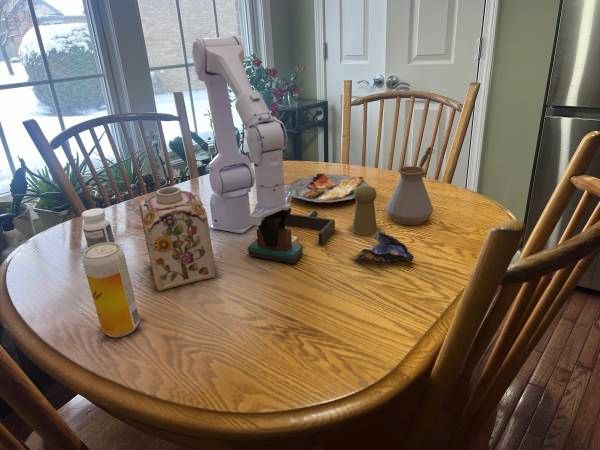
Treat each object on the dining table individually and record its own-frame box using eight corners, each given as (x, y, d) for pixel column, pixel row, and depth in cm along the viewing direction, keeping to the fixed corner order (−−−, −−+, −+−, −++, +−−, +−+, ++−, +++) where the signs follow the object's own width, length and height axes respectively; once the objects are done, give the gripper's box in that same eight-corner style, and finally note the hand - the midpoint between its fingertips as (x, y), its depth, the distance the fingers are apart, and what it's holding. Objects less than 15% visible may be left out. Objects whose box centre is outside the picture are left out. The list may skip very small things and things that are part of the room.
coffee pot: (424, 231, 103) (429, 170, 97) (378, 223, 109) (380, 165, 102) (447, 202, 119) (453, 148, 113) (406, 195, 125) (410, 144, 119)
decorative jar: (150, 265, 94) (134, 186, 86) (204, 253, 98) (193, 176, 90) (157, 293, 84) (139, 206, 76) (217, 278, 88) (205, 194, 80)
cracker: (271, 250, 98) (270, 240, 97) (279, 243, 101) (278, 233, 100) (291, 254, 96) (290, 244, 95) (298, 246, 99) (298, 236, 98)
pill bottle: (104, 244, 105) (94, 205, 100) (121, 248, 102) (112, 209, 98) (84, 254, 100) (73, 215, 96) (102, 259, 97) (91, 218, 93)
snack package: (361, 243, 99) (347, 266, 89) (367, 217, 97) (353, 238, 87) (414, 258, 96) (405, 284, 86) (421, 232, 93) (413, 256, 83)
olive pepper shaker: (376, 236, 102) (377, 192, 97) (350, 235, 103) (350, 191, 99) (377, 225, 107) (379, 183, 103) (353, 224, 109) (353, 182, 104)
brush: (248, 255, 95) (245, 230, 93) (258, 246, 99) (256, 222, 96) (293, 263, 91) (292, 237, 88) (302, 254, 94) (301, 229, 92)
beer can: (109, 318, 77) (88, 242, 71) (144, 315, 77) (126, 239, 71) (97, 341, 71) (74, 260, 65) (135, 337, 72) (115, 257, 66)
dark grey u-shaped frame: (264, 236, 105) (263, 224, 104) (289, 215, 116) (288, 204, 115) (321, 245, 99) (321, 233, 98) (342, 222, 110) (341, 211, 109)
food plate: (317, 176, 145) (317, 165, 144) (381, 187, 132) (381, 176, 131) (270, 199, 127) (269, 188, 126) (338, 215, 114) (338, 202, 113)
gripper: (270, 197, 80) (275, 261, 86) (302, 174, 92) (305, 232, 98) (237, 193, 83) (244, 255, 89) (273, 171, 95) (277, 227, 101)
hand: (274, 243), depth 94 cm, fingers closed on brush, 2 cm apart
